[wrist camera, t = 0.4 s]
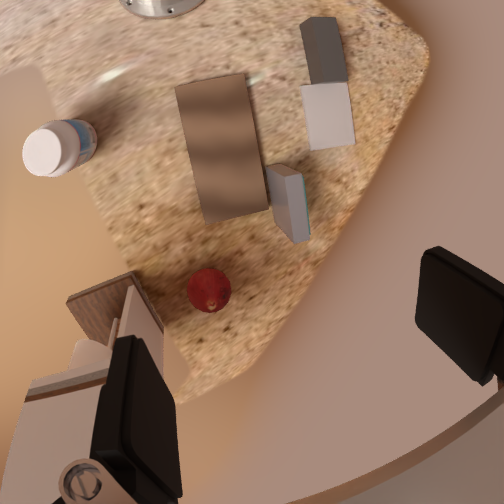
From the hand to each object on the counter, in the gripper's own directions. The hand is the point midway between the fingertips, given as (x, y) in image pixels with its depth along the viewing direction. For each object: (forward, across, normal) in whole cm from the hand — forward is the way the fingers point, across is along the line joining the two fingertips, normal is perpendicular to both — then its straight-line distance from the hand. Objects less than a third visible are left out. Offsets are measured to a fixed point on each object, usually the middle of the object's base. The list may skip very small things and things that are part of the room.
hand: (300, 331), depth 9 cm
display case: (+33, +18, +16) cm, 41 cm away
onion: (+33, +4, +14) cm, 36 cm away
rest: (+32, -2, -3) cm, 33 cm away
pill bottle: (+32, +16, -9) cm, 37 cm away
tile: (+33, -8, +4) cm, 34 cm away
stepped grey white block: (+32, -17, -10) cm, 38 cm away
